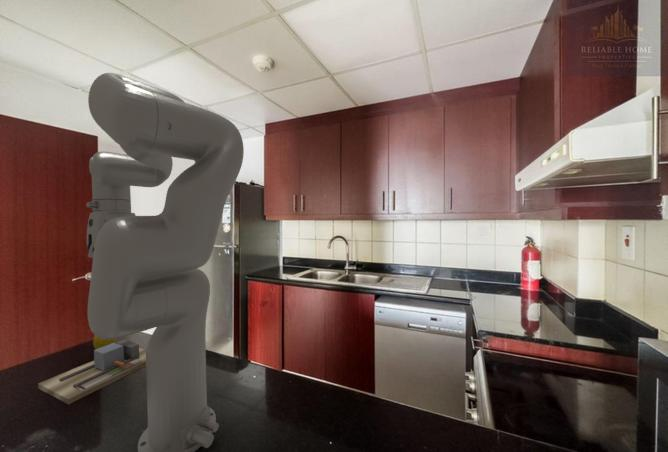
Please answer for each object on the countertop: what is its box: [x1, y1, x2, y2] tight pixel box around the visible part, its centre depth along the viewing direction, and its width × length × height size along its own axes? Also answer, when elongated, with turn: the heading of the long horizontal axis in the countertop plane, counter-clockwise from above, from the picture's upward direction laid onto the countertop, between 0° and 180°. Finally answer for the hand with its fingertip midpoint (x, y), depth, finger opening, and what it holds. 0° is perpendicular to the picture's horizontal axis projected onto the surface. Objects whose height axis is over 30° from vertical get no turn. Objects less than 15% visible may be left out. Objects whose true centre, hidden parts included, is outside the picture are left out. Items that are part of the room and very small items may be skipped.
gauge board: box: [37, 339, 146, 405], centre depth 69 cm, size 14×20×5 cm
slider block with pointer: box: [93, 342, 125, 371], centre depth 69 cm, size 8×4×4 cm, turn 67°
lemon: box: [92, 334, 118, 350], centre depth 79 cm, size 6×6×8 cm
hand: (115, 277), depth 68 cm, fingers closed
